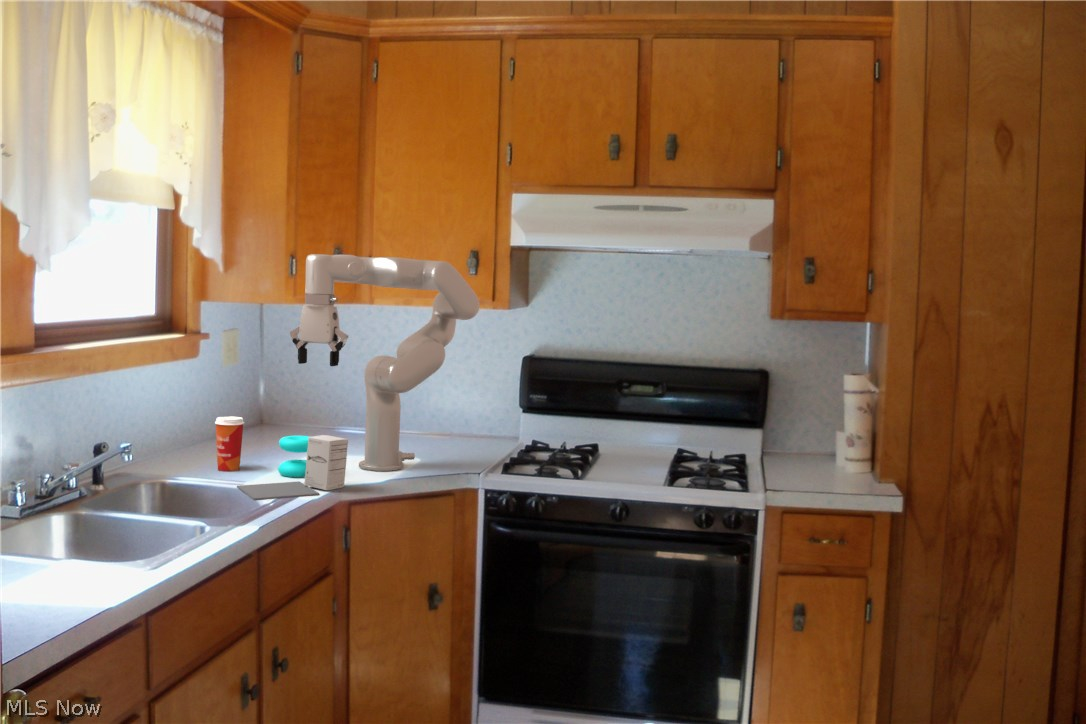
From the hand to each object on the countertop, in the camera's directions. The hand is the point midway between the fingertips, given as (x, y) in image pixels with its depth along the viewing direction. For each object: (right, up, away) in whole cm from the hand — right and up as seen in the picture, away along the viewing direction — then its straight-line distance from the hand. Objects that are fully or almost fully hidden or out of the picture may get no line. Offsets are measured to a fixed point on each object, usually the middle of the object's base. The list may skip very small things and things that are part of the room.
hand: (318, 364), depth 265 cm
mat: (-5, -31, -21) cm, 38 cm away
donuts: (-6, -30, 0) cm, 30 cm away
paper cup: (-25, -29, +2) cm, 38 cm away
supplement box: (+5, -31, -15) cm, 35 cm away
